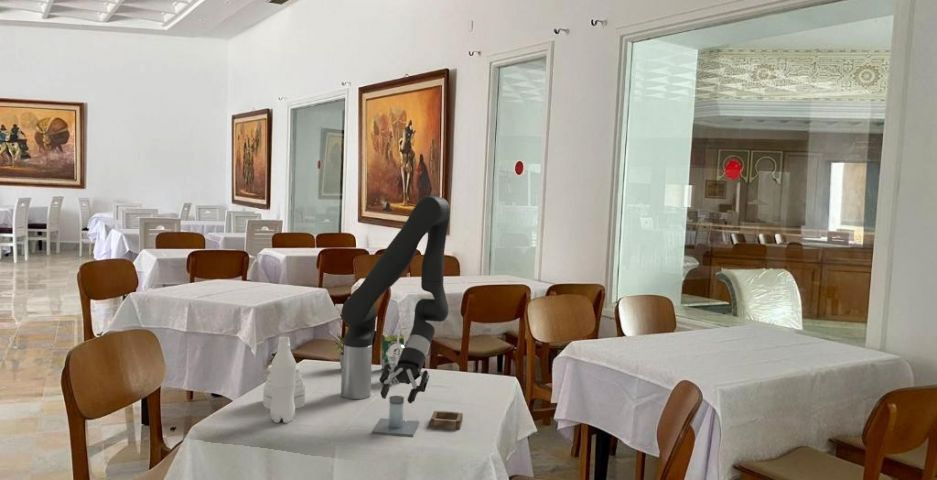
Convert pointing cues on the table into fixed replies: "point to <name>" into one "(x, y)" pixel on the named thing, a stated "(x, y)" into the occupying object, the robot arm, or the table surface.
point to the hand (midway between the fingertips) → (396, 399)
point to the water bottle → (283, 383)
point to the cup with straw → (395, 351)
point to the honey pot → (298, 392)
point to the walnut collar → (446, 420)
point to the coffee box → (386, 344)
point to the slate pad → (406, 430)
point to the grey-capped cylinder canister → (396, 411)
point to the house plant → (341, 348)
